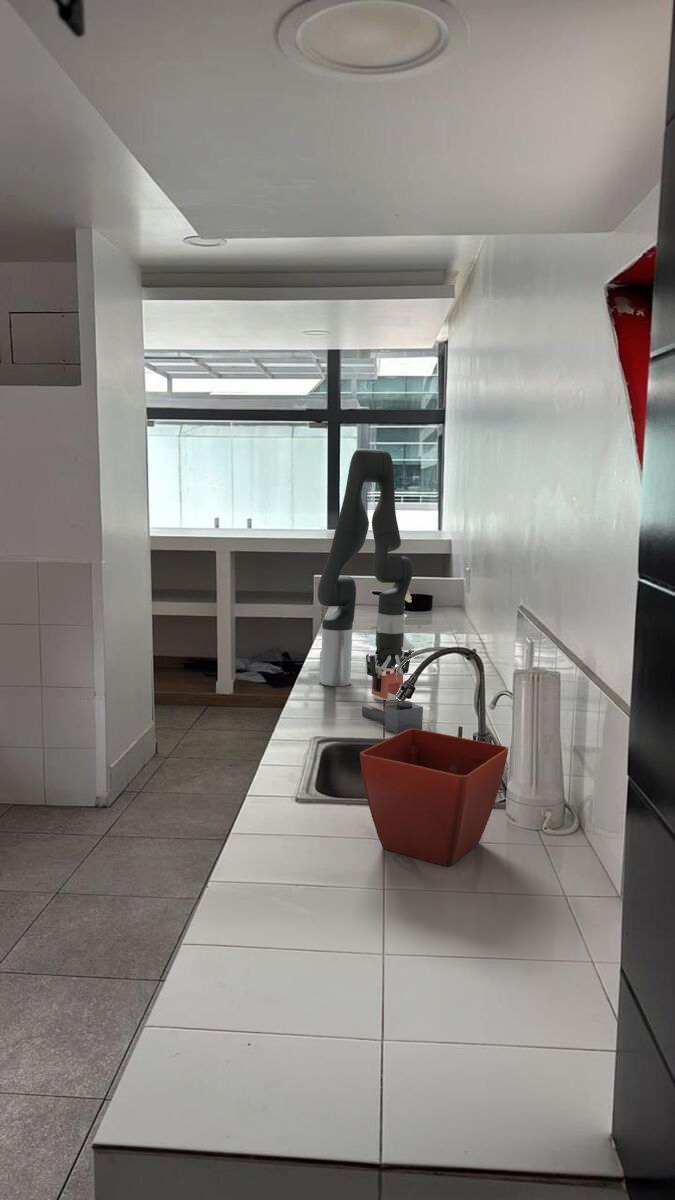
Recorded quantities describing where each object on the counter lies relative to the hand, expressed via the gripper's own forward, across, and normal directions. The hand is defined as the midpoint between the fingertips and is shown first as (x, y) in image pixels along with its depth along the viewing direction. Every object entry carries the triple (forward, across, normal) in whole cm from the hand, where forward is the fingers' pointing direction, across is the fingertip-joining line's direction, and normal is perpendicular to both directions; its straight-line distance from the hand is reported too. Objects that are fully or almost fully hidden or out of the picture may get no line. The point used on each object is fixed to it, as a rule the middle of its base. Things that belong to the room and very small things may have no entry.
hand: (386, 689), depth 239 cm
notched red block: (+1, 0, 0) cm, 1 cm away
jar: (+6, -8, -10) cm, 14 cm away
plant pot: (+3, +50, +79) cm, 93 cm away
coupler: (+5, +9, +12) cm, 16 cm away
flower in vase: (+7, -58, -68) cm, 90 cm away
